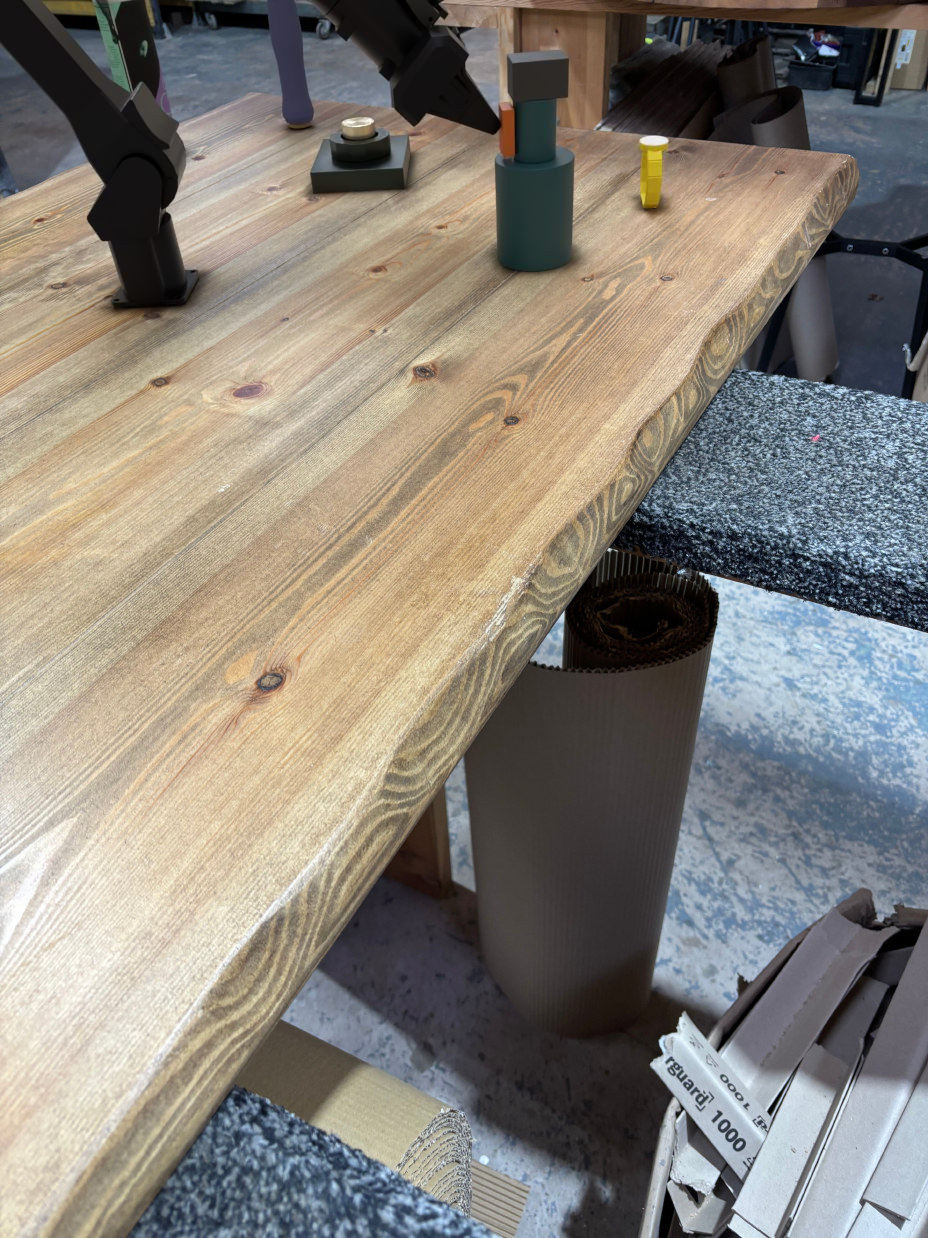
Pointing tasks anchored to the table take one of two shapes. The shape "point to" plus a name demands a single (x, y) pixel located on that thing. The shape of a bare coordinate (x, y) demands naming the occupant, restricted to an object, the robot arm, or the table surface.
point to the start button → (358, 129)
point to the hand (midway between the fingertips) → (497, 128)
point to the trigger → (506, 129)
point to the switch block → (361, 163)
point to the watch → (651, 169)
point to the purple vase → (290, 62)
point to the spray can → (131, 47)
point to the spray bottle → (535, 168)
